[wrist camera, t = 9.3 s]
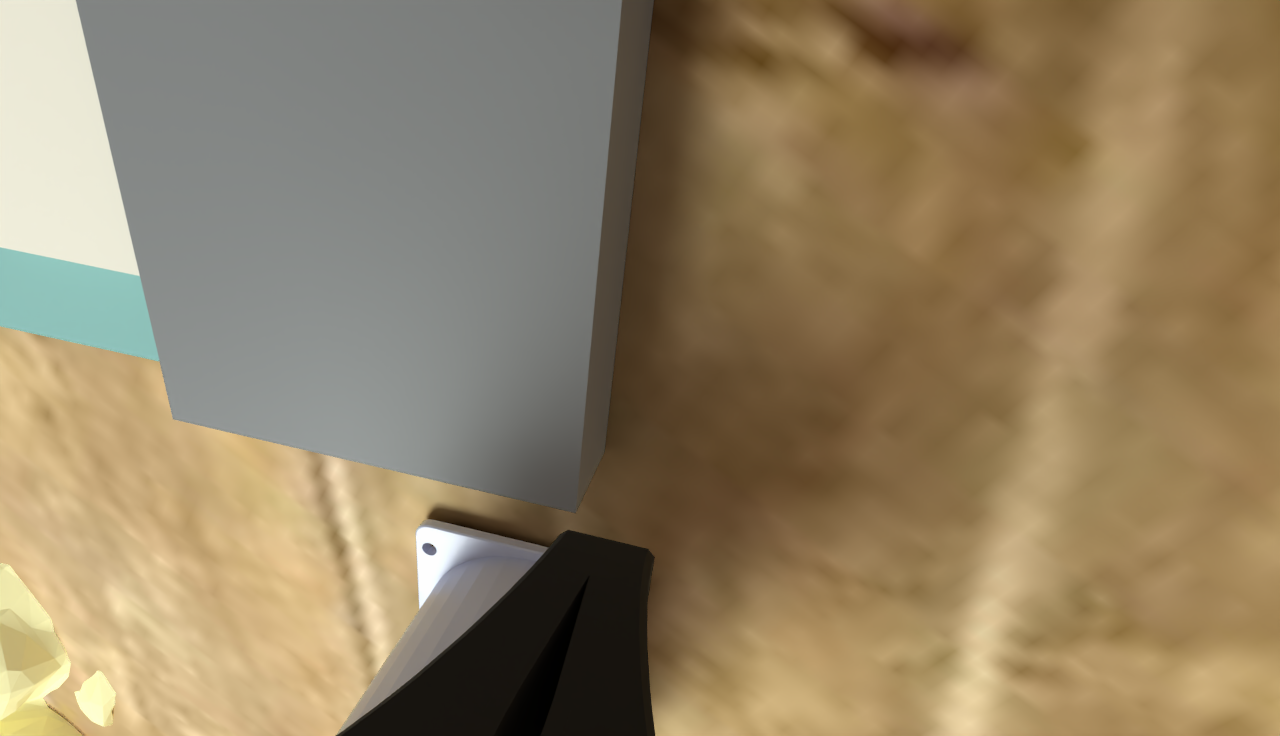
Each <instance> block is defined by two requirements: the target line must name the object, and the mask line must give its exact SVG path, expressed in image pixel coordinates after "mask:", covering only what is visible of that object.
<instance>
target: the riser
mask: <svg viewBox="0 0 1280 736" xmlns="http://www.w3.org/2000/svg"><path fill="white" fill-rule="evenodd" d="M76 4H77V8H78V12H79V17H80V21H81V25H82V30H83V34H84V38H85V42H86V47H87V51H88V55H89V60H90V64H91V68H92V73H93V77H94V81H95V85H96V90H97V94H98V98H99V103H100V107H101V111H102V116H103V120H104V124H105V128H106V133H107V137H108V141H109V146H110V150H111V154H112V159H113V163H114V167H115V171H116V176H117V180H118V184H119V189H120V193H121V197H122V202H123V206H124V210H125V214H126V219H127V223H128V227H129V232H130V236H131V240H132V245H133V249H134V253H135V257H136V262H137V266H138V270H139V275H140V279H141V283H142V288H143V292H144V296H145V300H146V305H147V309H148V313H149V318H150V322H151V326H152V331H153V335H154V339H155V343H156V348H157V352H158V356H159V361H160V365H161V369H162V374H163V378H164V382H165V386H166V391H167V395H168V399H169V404H170V408H171V412H172V417H173V419H174V420H179V421H183V422H187V423H191V424H196V425H200V426H204V427H209V428H213V429H217V430H221V431H226V432H230V433H234V434H239V435H243V436H247V437H251V438H256V439H260V440H264V441H269V442H273V443H277V444H281V445H286V446H290V447H294V448H299V449H303V450H307V451H311V452H316V453H320V454H324V455H329V456H333V457H337V458H342V459H346V460H350V461H354V462H359V463H363V464H367V465H372V466H376V467H380V468H384V469H389V470H393V471H397V472H402V473H406V474H410V475H414V476H419V477H423V478H427V479H432V480H436V481H440V482H444V483H449V484H453V485H457V486H462V487H466V488H470V489H474V490H479V491H483V492H487V493H492V494H496V495H500V496H504V497H509V498H513V499H517V500H522V501H526V502H530V503H535V504H539V505H543V506H547V507H552V508H556V509H560V510H565V511H569V512H573V513H576V511H577V509H578V507H579V505H580V503H581V501H582V499H583V496H584V494H585V492H586V490H587V488H588V486H589V484H590V482H591V480H592V477H593V475H594V473H595V471H596V469H597V467H598V465H599V463H600V460H601V458H602V456H603V454H604V452H605V443H606V434H607V425H608V416H609V407H610V398H611V389H612V379H613V370H614V361H615V352H616V343H617V334H618V325H619V315H620V306H621V297H622V288H623V279H624V270H625V260H626V251H627V242H628V233H629V224H630V215H631V206H632V196H633V187H634V178H635V169H636V160H637V151H638V142H639V132H640V123H641V114H642V105H643V96H644V87H645V77H646V68H647V59H648V50H649V41H650V32H651V23H652V13H653V4H654V0H76Z"/></svg>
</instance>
